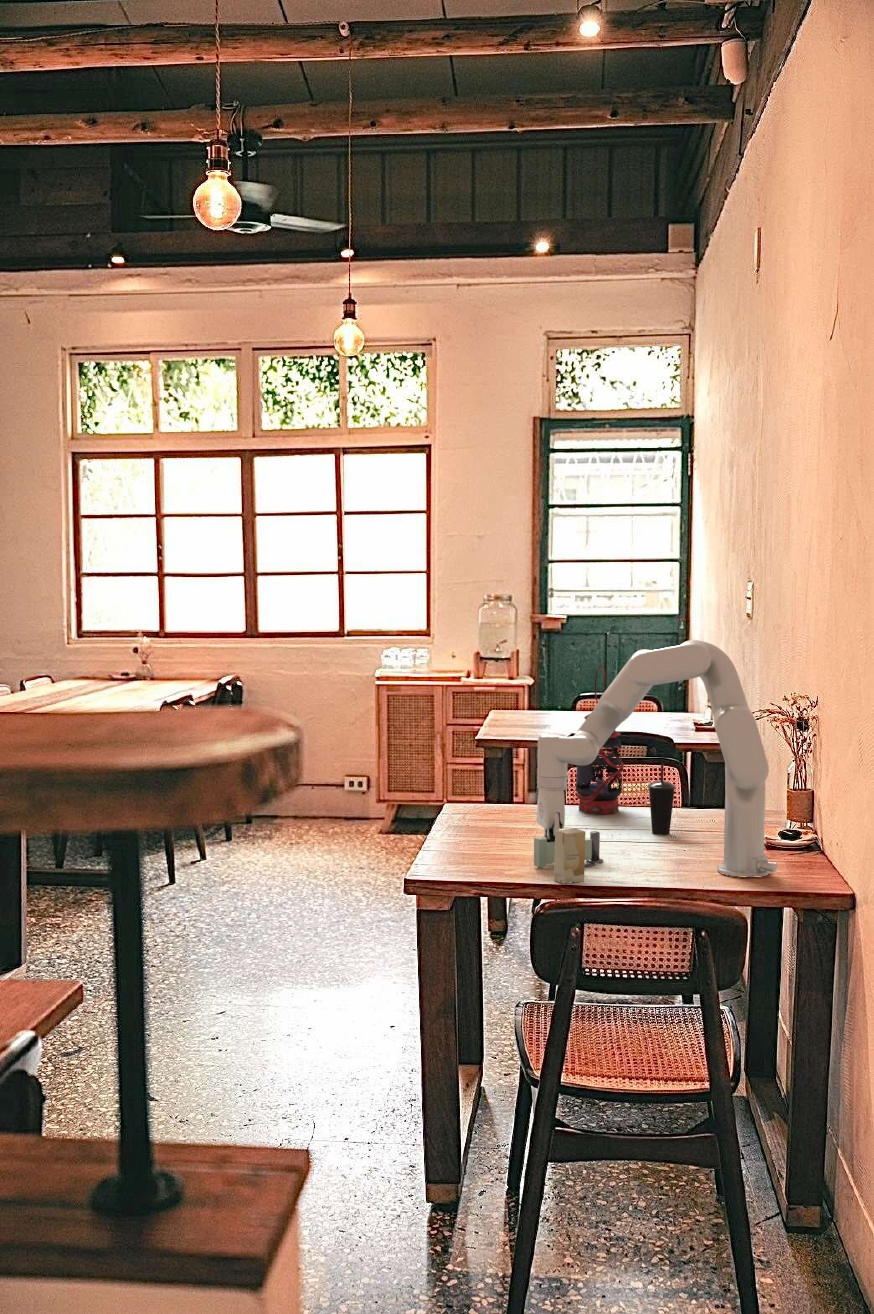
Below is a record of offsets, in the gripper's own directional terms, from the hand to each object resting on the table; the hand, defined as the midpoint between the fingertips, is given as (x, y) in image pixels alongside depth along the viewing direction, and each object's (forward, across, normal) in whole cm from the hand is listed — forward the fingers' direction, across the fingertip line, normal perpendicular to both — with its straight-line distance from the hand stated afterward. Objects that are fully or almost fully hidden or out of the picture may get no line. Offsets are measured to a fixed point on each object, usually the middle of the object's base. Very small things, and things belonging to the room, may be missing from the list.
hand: (551, 854), depth 307 cm
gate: (+2, +3, +2) cm, 4 cm away
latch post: (+2, +9, +5) cm, 10 cm away
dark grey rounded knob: (+2, 0, +11) cm, 12 cm away
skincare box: (+2, +18, -1) cm, 19 cm away
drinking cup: (+2, -28, +40) cm, 49 cm away
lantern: (+2, -62, +33) cm, 70 cm away
